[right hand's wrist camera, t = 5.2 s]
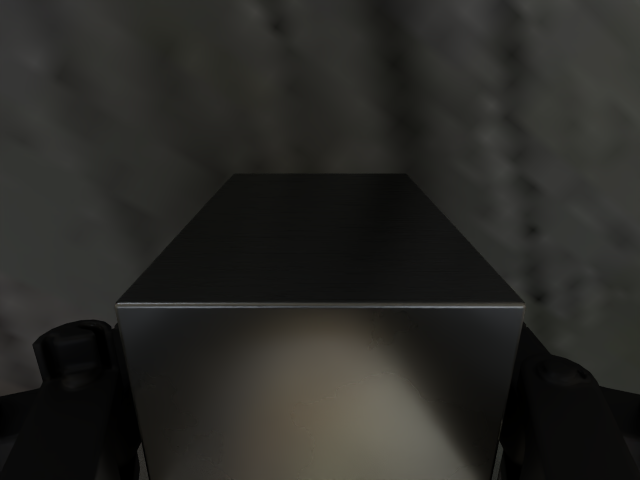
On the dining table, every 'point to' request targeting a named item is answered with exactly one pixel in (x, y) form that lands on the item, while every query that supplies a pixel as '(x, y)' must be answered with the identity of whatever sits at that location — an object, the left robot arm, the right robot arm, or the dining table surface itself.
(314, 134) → the dining table surface
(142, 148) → the dining table surface
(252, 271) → the box
